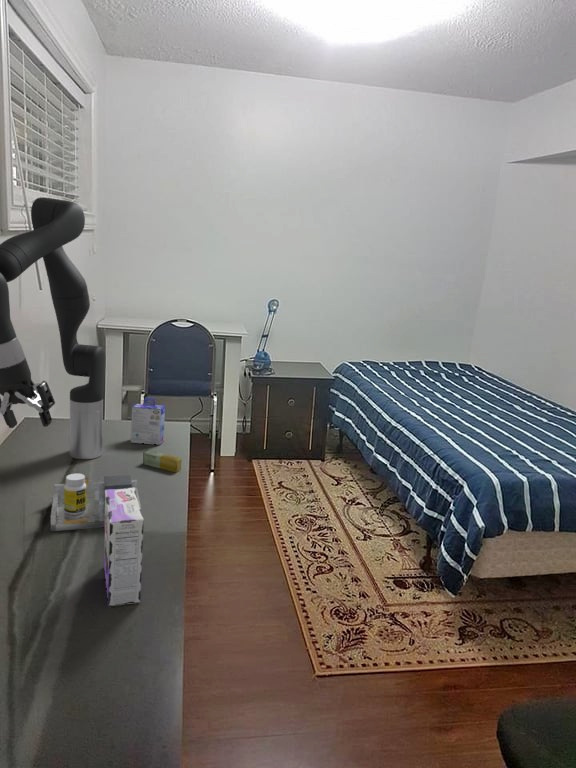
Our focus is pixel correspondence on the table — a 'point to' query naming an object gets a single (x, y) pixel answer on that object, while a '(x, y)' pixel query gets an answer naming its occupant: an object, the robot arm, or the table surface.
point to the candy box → (123, 546)
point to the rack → (87, 504)
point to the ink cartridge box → (147, 423)
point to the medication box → (162, 461)
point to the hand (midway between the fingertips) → (30, 425)
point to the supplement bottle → (75, 494)
